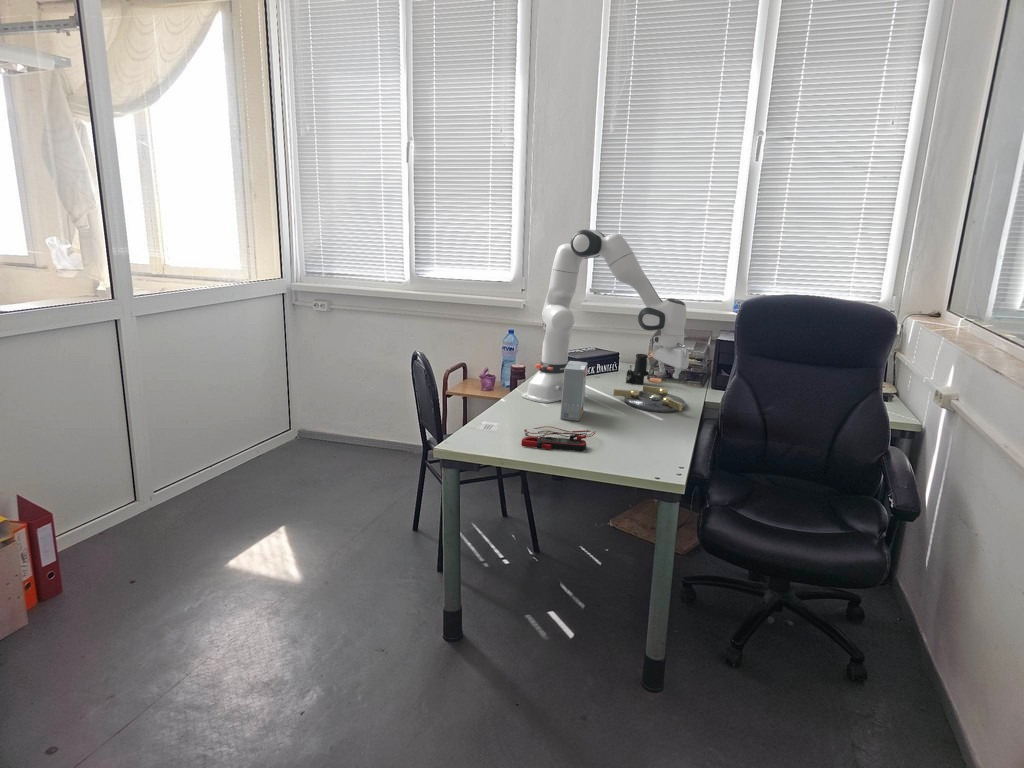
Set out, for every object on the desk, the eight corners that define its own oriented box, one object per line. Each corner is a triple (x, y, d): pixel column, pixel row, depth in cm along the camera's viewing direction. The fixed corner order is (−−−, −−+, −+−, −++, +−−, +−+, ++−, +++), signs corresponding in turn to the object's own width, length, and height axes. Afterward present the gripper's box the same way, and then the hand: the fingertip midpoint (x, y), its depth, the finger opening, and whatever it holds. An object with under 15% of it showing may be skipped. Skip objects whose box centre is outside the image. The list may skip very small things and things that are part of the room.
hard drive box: (580, 421, 239) (584, 370, 234) (559, 419, 241) (563, 368, 236) (583, 410, 254) (587, 361, 249) (564, 408, 255) (568, 359, 250)
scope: (630, 351, 301) (651, 354, 299) (627, 380, 305) (648, 382, 302) (627, 355, 294) (649, 357, 291) (624, 383, 298) (646, 386, 295)
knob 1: (638, 396, 269) (639, 389, 269) (639, 398, 266) (639, 391, 265) (613, 394, 271) (613, 387, 270) (613, 396, 267) (614, 389, 266)
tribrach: (669, 416, 251) (671, 407, 250) (613, 403, 265) (614, 394, 264) (693, 403, 270) (695, 395, 269) (640, 392, 284) (641, 383, 283)
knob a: (668, 394, 275) (668, 387, 274) (666, 396, 271) (667, 389, 271) (643, 390, 278) (644, 384, 278) (642, 392, 275) (642, 386, 274)
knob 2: (660, 403, 260) (661, 396, 260) (667, 402, 262) (668, 395, 261) (676, 410, 251) (677, 403, 250) (684, 410, 252) (684, 403, 252)
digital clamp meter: (596, 443, 206) (519, 436, 209) (594, 456, 207) (519, 449, 210) (595, 420, 229) (526, 415, 231) (594, 432, 230) (525, 426, 232)
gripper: (694, 346, 239) (690, 381, 243) (664, 335, 258) (661, 369, 261) (680, 346, 237) (676, 382, 241) (651, 336, 256) (648, 369, 259)
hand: (668, 375), depth 251 cm, fingers open, 8 cm apart
